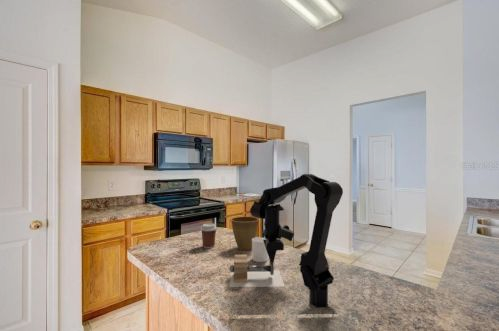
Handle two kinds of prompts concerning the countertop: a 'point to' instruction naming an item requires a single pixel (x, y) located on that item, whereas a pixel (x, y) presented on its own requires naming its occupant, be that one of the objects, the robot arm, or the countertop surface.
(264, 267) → the hook rod
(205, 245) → the coffee cup
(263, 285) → the mounting board
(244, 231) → the plant pot
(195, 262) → the countertop surface
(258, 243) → the white cup
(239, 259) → the block
